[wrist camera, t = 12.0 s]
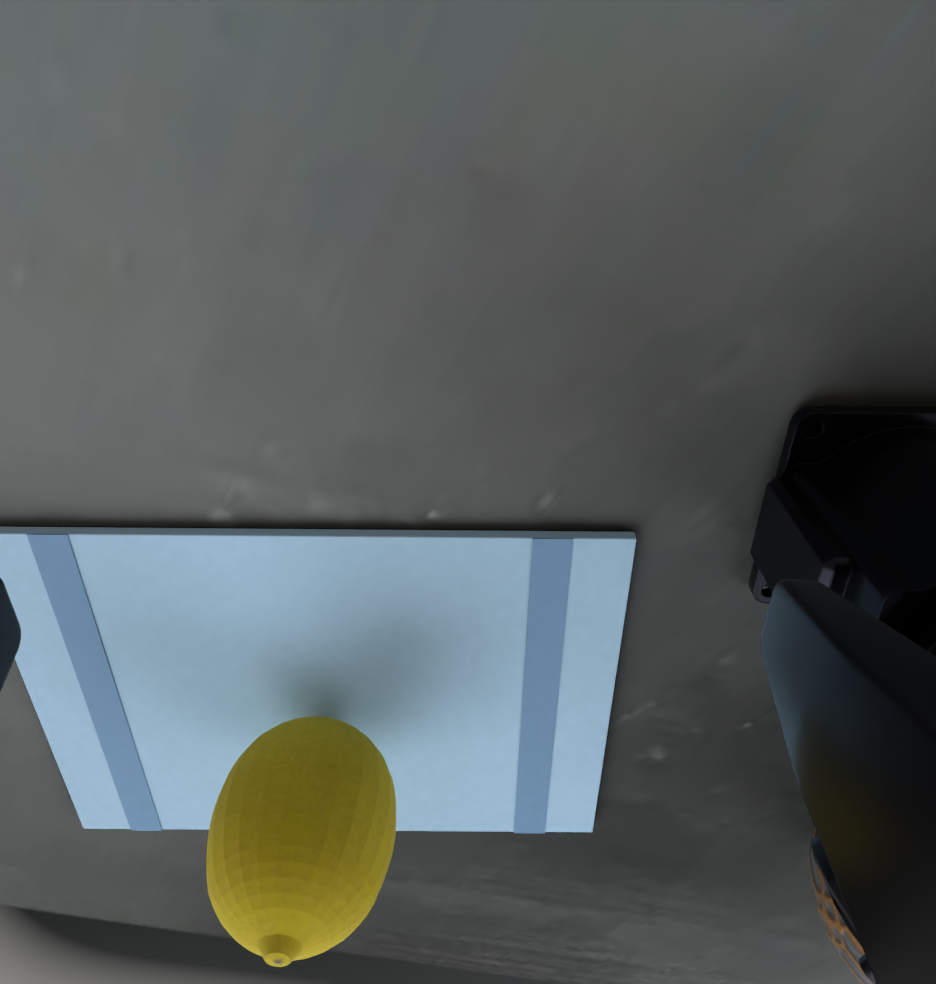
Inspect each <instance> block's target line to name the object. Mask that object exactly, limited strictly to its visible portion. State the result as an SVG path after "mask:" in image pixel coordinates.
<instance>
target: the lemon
mask: <svg viewBox="0 0 936 984" xmlns="http://www.w3.org/2000/svg"><path fill="white" fill-rule="evenodd" d="M395 835H396V796H395V788H394V784H393V780H392V777H391V774H390V772H389V769H388V767H387V764H386V762H385V759H384V757H383V756H382V754H381V752H380V751H379V750H378V749H377V747H376V746H375V745H374V744H373V742H372V741H371V740H370V739H369V738H368V737H367V736H366V735H365V734H363V733H362V732H361V731H359V730H358V729H357V728H355V727H354V726H352V725H350V724H347V723H345V722H343V721H341V720H337V719H333V718H329V717H320V716H309V717H300V718H296V719H293V720H289V721H286V722H283V723H281V724H279V725H277V726H275V727H273V728H272V729H270V730H268V731H266V732H265V733H263V734H262V735H260V736H259V737H258V738H257V739H256V740H255V741H254V742H253V743H252V744H251V745H250V746H249V747H248V748H247V749H246V750H245V751H244V752H243V753H242V755H241V756H240V757H239V758H238V760H237V761H236V762H235V764H234V765H233V767H232V769H231V770H230V772H229V774H228V776H227V778H226V780H225V783H224V785H223V787H222V789H221V792H220V794H219V796H218V799H217V802H216V804H215V807H214V810H213V814H212V818H211V822H210V828H209V834H208V842H207V886H208V893H209V897H210V900H211V903H212V906H213V908H214V910H215V912H216V915H217V917H218V918H219V920H220V922H221V924H222V925H223V927H224V928H225V929H226V930H227V931H228V933H229V934H230V935H231V936H232V937H233V938H234V939H235V940H236V941H237V942H238V943H240V944H241V945H242V946H243V947H245V948H246V949H248V950H249V951H251V952H253V953H255V954H257V955H260V956H262V957H263V958H264V960H265V962H266V963H267V964H269V965H271V966H276V967H282V966H286V965H288V964H289V963H290V962H292V961H293V960H300V959H306V958H309V957H312V956H315V955H318V954H320V953H323V952H325V951H327V950H328V949H330V948H332V947H334V946H335V945H337V944H338V943H340V942H341V941H343V940H344V939H345V938H346V937H348V936H349V935H350V934H351V933H352V932H353V931H354V930H355V929H356V928H357V927H358V926H359V925H360V923H361V922H362V921H363V920H364V918H365V917H366V916H367V915H368V913H369V911H370V909H371V908H372V906H373V904H374V902H375V900H376V897H377V895H378V893H379V891H380V888H381V886H382V883H383V881H384V878H385V876H386V873H387V870H388V867H389V864H390V860H391V857H392V852H393V848H394V842H395Z"/></svg>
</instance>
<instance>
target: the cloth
mask: <svg viewBox="0 0 936 984" xmlns="http://www.w3.org/2000/svg"><path fill="white" fill-rule="evenodd" d="M636 540H637V539H636V536H635V533H634V532H597V531H476V530H355V529H234V528H113V527H0V578H1V579H2V580H3V582H4V585H5V587H6V590H7V592H8V595H9V598H10V600H11V603H12V605H13V608H14V611H15V613H16V616H17V618H18V621H19V623H20V627H21V641H20V646H19V649H18V651H17V654H16V656H15V660H16V663H17V665H18V668H19V670H20V673H21V675H22V678H23V680H24V683H25V685H26V688H27V690H28V693H29V695H30V697H31V700H32V702H33V705H34V707H35V710H36V712H37V715H38V717H39V720H40V722H41V725H42V727H43V730H44V732H45V734H46V737H47V739H48V742H49V744H50V747H51V749H52V752H53V754H54V757H55V759H56V762H57V764H58V767H59V769H60V771H61V774H62V776H63V779H64V781H65V784H66V786H67V789H68V791H69V794H70V796H71V799H72V801H73V804H74V806H75V808H76V811H77V813H78V816H79V818H80V821H81V823H82V826H83V828H84V829H131V830H135V831H162V829H209V828H210V822H211V818H212V814H213V810H214V807H215V804H216V802H217V799H218V796H219V794H220V792H221V789H222V787H223V785H224V783H225V780H226V778H227V776H228V774H229V772H230V770H231V769H232V767H233V765H234V764H235V762H236V761H237V760H238V758H239V757H240V756H241V755H242V753H243V752H244V751H245V750H246V749H247V748H248V747H249V746H250V745H251V744H252V743H253V742H254V741H255V740H256V739H257V738H258V737H259V736H260V735H262V734H263V733H265V732H266V731H268V730H270V729H272V728H273V727H275V726H277V725H279V724H281V723H283V722H286V721H289V720H293V719H296V718H300V717H309V716H320V717H329V718H333V719H337V720H341V721H343V722H345V723H347V724H350V725H352V726H354V727H355V728H357V729H358V730H359V731H361V732H362V733H363V734H365V735H366V736H367V737H368V738H369V739H370V740H371V741H372V742H373V744H374V745H375V746H376V747H377V749H378V750H379V751H380V752H381V754H382V756H383V757H384V759H385V762H386V764H387V767H388V769H389V772H390V774H391V777H392V780H393V784H394V788H395V796H396V831H510V832H514V833H545V832H592V831H593V825H594V819H595V812H596V805H597V799H598V792H599V785H600V779H601V772H602V766H603V759H604V752H605V746H606V739H607V732H608V726H609V719H610V712H611V706H612V699H613V692H614V686H615V679H616V673H617V666H618V659H619V653H620V646H621V639H622V633H623V626H624V619H625V613H626V606H627V599H628V593H629V586H630V580H631V573H632V566H633V560H634V553H635V546H636Z"/></svg>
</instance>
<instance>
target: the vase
mask: <svg viewBox="0 0 936 984" xmlns="http://www.w3.org/2000/svg"><path fill="white" fill-rule="evenodd" d="M817 834H818V833H817V830H816V828H814V831H813V834H812V838H814V837H815V836H816V835H817ZM812 838H811V841H812ZM811 841H810V849H809V869H810V879H811V885H812V890H813V895H814V898H815V901H816V905H817V908H818V911H819V913H820V916H821V919H822V922H823V924H824V927H825V929H826V931H827V933H828V936H829V938H830V940H831V942H832V943H833V945H834V947H835V949H836V950H837V952H838V954H839V955H840V957H841V958H842V960H843V961H844V963H845V964H846V966H847V967H848V969H849V970H850V971H851V973H852V974H853V975H854V977H855V978H856V979H857V981H858V982H859V983H860V984H874V983H873V982H872V981H871V980H870V979H869V978H868V977H867V976H866V975H865V974H864V972H863V971H862V969H861V967H860V964H859V959H860V958H861V957H862V956H863V955H864V954H865V953H864V951H863V948H862V946H861V945H860V944H859V942H858V941H857V940H856V938H855V937H854V936H853V934H852V933H851V932H850V930H849V929H848V927H847V925H846V924H845V922H844V920H843V919H842V917H841V915H840V914H839V912H838V911H837V909H836V907H835V905H834V903H833V900H832V898H831V895H830V893H829V891H828V888H827V886H826V883H825V881H824V878H823V876H822V874H821V872H820V870H819V868H818V866H817V864H816V862H815V860H814V857H813V852H812V847H811Z"/></svg>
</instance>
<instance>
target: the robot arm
mask: <svg viewBox="0 0 936 984" xmlns="http://www.w3.org/2000/svg"><path fill="white" fill-rule="evenodd" d="M812 421H817V424H816V426H815V427H814V428H813V429H812V430H809V431H804V428H805V426H806V425H807V424H808V423H810V422H812ZM751 555H752V557H753V559H754V565H753V569H752V573H751V577H750V581H749V588H750V590H751V592H752V594H753V596H754V597H755V599H756V600H757V601H759V602H762V603H770V604H769V608H768V612H767V615H766V619H765V623H764V626H763V630H762V634H761V649H762V655H763V659H764V663H765V666H766V670H767V674H768V678H769V681H770V685H771V689H772V693H773V697H774V700H775V704H776V708H777V712H778V715H779V719H780V723H781V727H782V730H783V734H784V738H785V742H786V746H787V749H788V753H789V756H790V760H791V763H792V766H793V770H794V773H795V776H796V778H797V781H798V784H799V787H800V789H801V792H802V795H803V797H804V800H805V802H806V805H807V807H808V810H809V813H810V815H811V818H812V820H813V823H814V825H815V828H816V830H817V833H818V834H817V835H816V836H815V837H814V838H812V841H811V847H812V852H813V857H814V860H815V862H816V864H817V866H818V868H819V870H820V872H821V874H822V876H823V878H824V881H825V883H826V886H827V888H828V891H829V893H830V895H831V898H832V900H833V903H834V905H835V907H836V909H837V911H838V912H839V914H840V915H841V917H842V919H843V920H844V922H845V924H846V925H847V927H848V929H849V930H850V932H851V933H852V934H853V936H854V937H855V938H856V940H857V941H858V942H859V944H860V945H861V946H862V948H863V951H864V953H865V954H864V955H863V956H862V957H861V958H860V959H859V964H860V967H861V969H862V971H863V972H864V974H865V975H866V976H867V977H868V978H869V979H870V980H871V981H872V982H873V983H874V984H936V407H852V406H810V407H805V408H803V409H801V410H799V411H797V412H796V413H795V414H794V415H793V416H792V418H791V421H790V423H789V427H788V431H787V434H786V438H785V442H784V446H783V450H782V454H781V458H780V462H779V466H778V470H777V474H776V477H774V478H773V479H772V480H771V481H770V482H769V483H768V484H767V487H766V491H765V495H764V499H763V503H762V507H761V511H760V515H759V519H758V523H757V527H756V531H755V536H754V540H753V544H752V548H751ZM766 585H768V586H769V588H766V589H762V588H763V587H764V586H766ZM20 641H21V627H20V623H19V621H18V618H17V616H16V613H15V611H14V608H13V605H12V603H11V600H10V598H9V595H8V592H7V590H6V587H5V585H4V582H3V580H2V579H1V578H0V692H1V689H2V687H3V685H4V682H5V680H6V678H7V675H8V673H9V670H10V668H11V666H12V663H13V661H14V659H15V656H16V654H17V651H18V649H19V646H20Z"/></svg>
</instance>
